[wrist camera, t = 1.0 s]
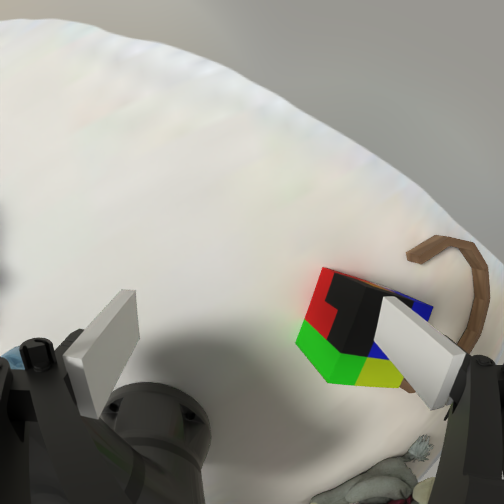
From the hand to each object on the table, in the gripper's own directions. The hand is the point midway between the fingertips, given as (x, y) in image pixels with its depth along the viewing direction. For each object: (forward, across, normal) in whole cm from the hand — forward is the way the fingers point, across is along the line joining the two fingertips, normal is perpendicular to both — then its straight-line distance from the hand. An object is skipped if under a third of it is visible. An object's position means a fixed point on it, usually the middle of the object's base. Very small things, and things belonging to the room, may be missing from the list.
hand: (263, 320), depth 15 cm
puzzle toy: (+20, -13, +9) cm, 25 cm away
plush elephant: (+19, -29, +48) cm, 59 cm away
